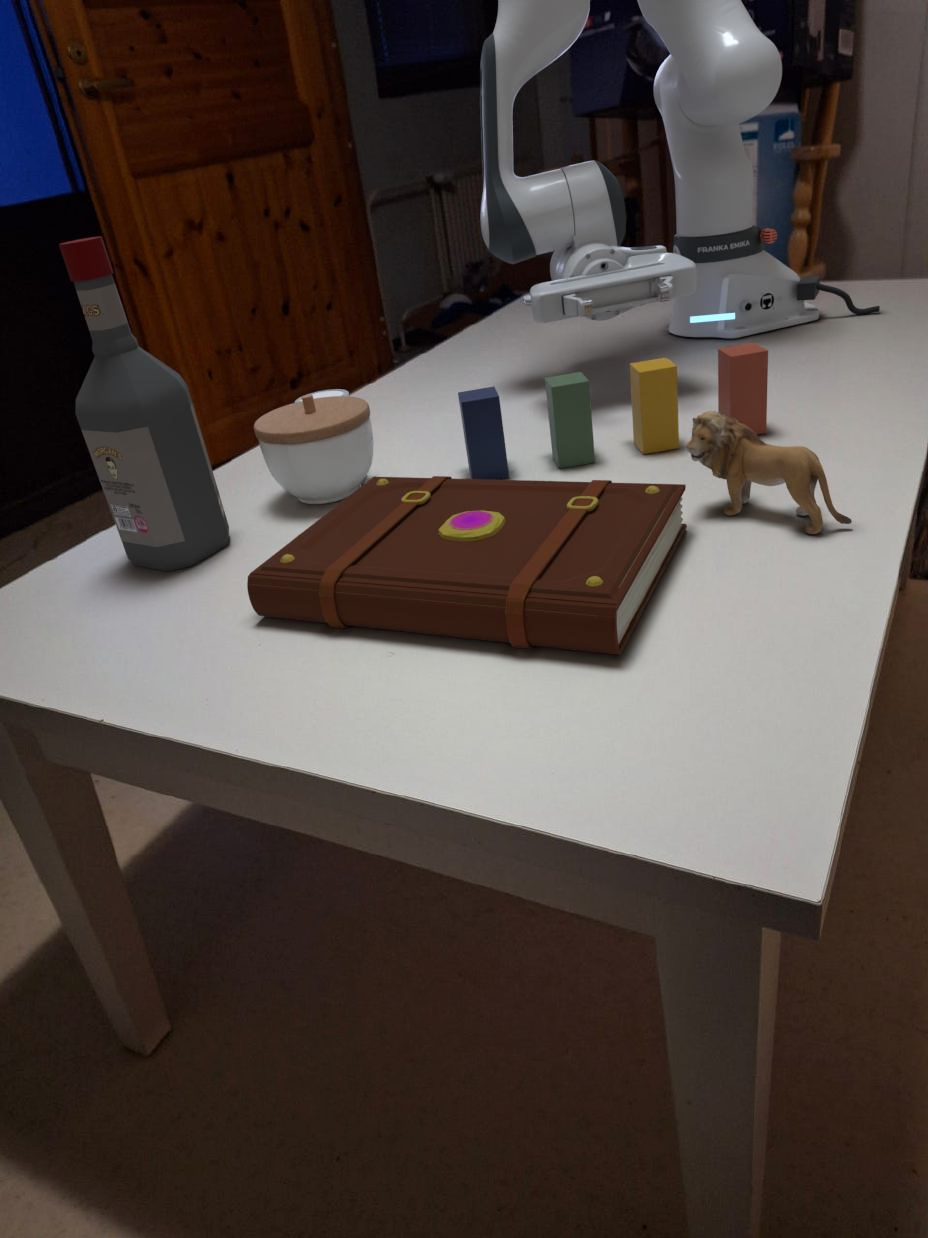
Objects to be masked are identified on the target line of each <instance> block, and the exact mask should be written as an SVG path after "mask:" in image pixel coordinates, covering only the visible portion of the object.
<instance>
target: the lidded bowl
mask: <svg viewBox="0 0 928 1238" xmlns="http://www.w3.org/2000/svg"><path fill="white" fill-rule="evenodd" d="M309 394H310V393H309ZM301 397H302V401H300V402H296V403H295V402H293V403H290V404H289V403H288V404H285V405H283V406H280V407H278V408H275V409H273V410H271V411H269V412H267V413H265V414H263V415H262V416H260V417H259V418H258V419H256V420H255V421H254V425H253V430H254V434H255V437H256V439H257V440H258V444H259V447H260V451H261V454H262V457H263V459H264V463H265V464H266V467H267V468H268V470H269V472H270V475H272V477H273V479H274V480H275V481H276V483H277V484H278V485H279V486H280V487H281V488H282V489H283V490H284V491H286V492H288V493H289V494H290V495H292V496H294V497H296V498H297V500H298V501H299V502H300V503H303V504H306V505H324V504H330V503H335V502H339V501H343V500H345V499H346V498H347V497H348V496H350V495H351V494H352V493H354V492H355V491H356V490H357V489H359V488H360V487H361V484H362V482H363V481H364V480H365V478H366V477H367V475H368V473H369V472H370V469H371V467H372V463H373V458H374V445H375V444H374V433H373V426H372V421H371V408H370V405H369V402H368V401H366V400H365V399H364V398H362V397H356V396H350V395H349V396H332V397H322V398H315V399H313V395H311V394H310V395H307V394H305V395H302V396H301Z"/></svg>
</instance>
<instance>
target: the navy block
mask: <svg viewBox="0 0 928 1238" xmlns="http://www.w3.org/2000/svg"><path fill="white" fill-rule="evenodd" d="M457 396H458V397H457V398H458V403H459V410H460V416H461V423H462V430H463V431H462V432H463V437H464V444H465V451H466V457H467V458H466V459H467V464H468V470H469V474H470V479H489V480H502V479H505V478H510V472H509V464H508V455H507V448H506V441H505V440H506V439H505V433H504V423H503V416H502V407H501V400H500V394H499V393H498V391H497V388H496V387H495V386H488V387H482V388H475V389H469V390H464V391H458V392H457Z"/></svg>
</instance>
